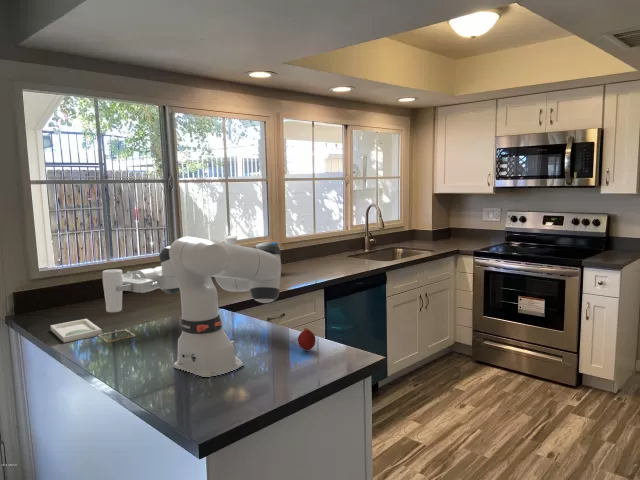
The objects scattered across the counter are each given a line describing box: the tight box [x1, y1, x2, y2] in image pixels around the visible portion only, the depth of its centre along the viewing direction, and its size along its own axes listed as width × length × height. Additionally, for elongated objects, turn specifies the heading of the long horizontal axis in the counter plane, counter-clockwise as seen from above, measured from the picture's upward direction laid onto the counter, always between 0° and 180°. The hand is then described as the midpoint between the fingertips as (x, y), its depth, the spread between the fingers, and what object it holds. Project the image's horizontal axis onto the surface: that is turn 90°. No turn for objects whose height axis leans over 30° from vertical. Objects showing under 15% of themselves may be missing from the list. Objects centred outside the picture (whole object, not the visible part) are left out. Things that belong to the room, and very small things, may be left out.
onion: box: [297, 327, 317, 351], centre depth 156 cm, size 6×6×8 cm
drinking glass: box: [102, 268, 124, 313], centre depth 173 cm, size 7×7×15 cm
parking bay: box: [98, 328, 137, 344], centre depth 175 cm, size 10×10×1 cm
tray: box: [50, 318, 103, 344], centre depth 181 cm, size 20×13×2 cm, turn 41°
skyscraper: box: [223, 232, 238, 245], centre depth 265 cm, size 8×8×28 cm
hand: (110, 287), depth 172 cm, fingers closed on drinking glass, 6 cm apart
